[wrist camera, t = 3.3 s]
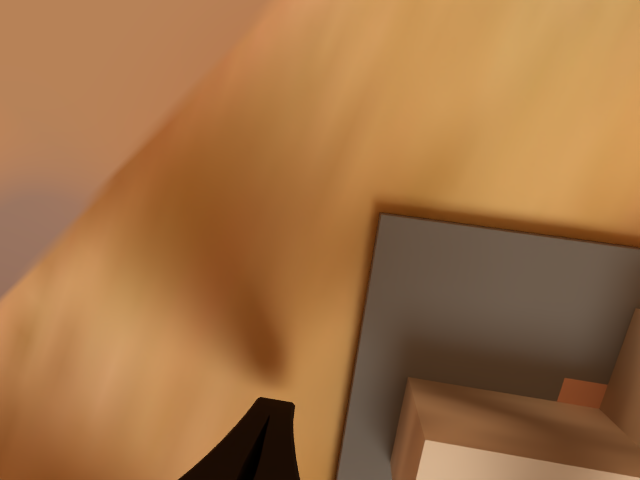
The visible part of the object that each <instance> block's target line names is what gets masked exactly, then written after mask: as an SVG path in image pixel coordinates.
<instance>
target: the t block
mask: <svg viewBox="0 0 640 480" xmlns="http://www.w3.org/2000/svg"><path fill="white" fill-rule="evenodd" d="M390 467H391V474H392V480H640V309H637V308H635V311H634V314H633V317H632V319H631V322H630V325H629V328H628V331H627V333H626V336H625V339H624V342H623V344H622V347H621V350H620V353H619V355H618V358H617V361H616V364H615V367H614V369H613V372H612V375H611V378H610V380H609V383H608V386H607V389H606V391H605V394H604V397H603V400H602V402H601V405H600V408H599V409H598V408H592V407H586V406H580V405H574V404H568V403H562V402H556V401H550V400H544V399H538V398H532V397H526V396H520V395H514V394H508V393H502V392H496V391H490V390H483V389H477V388H471V387H465V386H459V385H453V384H447V383H441V382H435V381H429V380H423V379H417V378H411V377H408V379H407V384H406V389H405V394H404V398H403V403H402V408H401V413H400V418H399V422H398V427H397V432H396V437H395V442H394V446H393V451H392V456H391V461H390Z"/></svg>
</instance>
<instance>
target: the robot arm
mask: <svg viewBox="0 0 640 480" xmlns="http://www.w3.org/2000/svg"><path fill="white" fill-rule="evenodd" d="M294 410H295V405H294V404H293V403H292V402H286V401H280V400H275V399H269V398H263V397H260V398H258V399H257V400H256V401H255V403H254V404H253V405H252V407H251V408H250V409H249V410H248V412H247V413H246V414H245V415H244V417H243V418H242V419H241V420H240V421H239V422H238V423H237V425H236V426H235V427H234V428H233V429H232V430H231V431H230V432H229V433H228V434H227V435H226V437H225V438H224V439H223V440H222V441H221V442H220V443H219V444H218V445H217V446H216V447H214V448H213V449H212V450H211V451H210V452H209V453H208V454H207V455H206V456H205V457H204V458H203V459H202V460H201V461H200V462H199V463H197V464H196V465H195V466H194V467H193V468H192V469H190V470H189V471H188V472H187V473H186V474H184V475H183V476H182V477H181V478H179V479H178V480H300V477H299V472H298V466H297V461H296V454H295V445H294V435H293V418H294Z"/></svg>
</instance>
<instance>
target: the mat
mask: <svg viewBox="0 0 640 480" xmlns="http://www.w3.org/2000/svg"><path fill="white" fill-rule="evenodd" d="M635 308H637V309H640V248H638V247H631V246H624V245H616V244H609V243H602V242H594V241H587V240H579V239H572V238H565V237H557V236H550V235H543V234H535V233H528V232H520V231H513V230H506V229H498V228H491V227H484V226H476V225H469V224H461V223H454V222H447V221H439V220H432V219H425V218H417V217H410V216H402V215H395V214H388V213H380V215H379V221H378V227H377V233H376V239H375V245H374V251H373V257H372V263H371V269H370V275H369V281H368V287H367V293H366V299H365V305H364V311H363V317H362V323H361V329H360V335H359V341H358V347H357V353H356V359H355V365H354V371H353V377H352V383H351V389H350V395H349V401H348V407H347V413H346V419H345V426H344V432H343V438H342V444H341V450H340V456H339V462H338V468H337V474H336V480H392V474H391V467H390V461H391V456H392V451H393V446H394V442H395V437H396V432H397V427H398V422H399V418H400V413H401V408H402V403H403V398H404V394H405V389H406V384H407V379H408V377H411V378H417V379H423V380H429V381H435V382H441V383H447V384H453V385H459V386H465V387H471V388H477V389H483V390H490V391H496V392H502V393H508V394H514V395H520V396H526V397H532V398H538V399H544V400H550V401H556V402H562V403H568V404H574V405H580V406H586V407H592V408H598V409H599V408H600V405H601V402H602V400H603V397H604V394H605V391H606V389H607V386H608V383H609V380H610V378H611V375H612V372H613V369H614V367H615V364H616V361H617V358H618V355H619V353H620V350H621V347H622V344H623V342H624V339H625V336H626V333H627V331H628V328H629V325H630V322H631V319H632V317H633V314H634V311H635Z"/></svg>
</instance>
